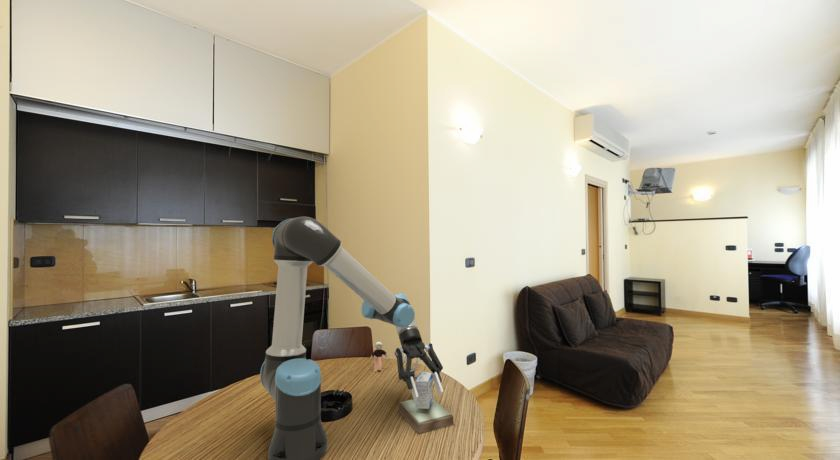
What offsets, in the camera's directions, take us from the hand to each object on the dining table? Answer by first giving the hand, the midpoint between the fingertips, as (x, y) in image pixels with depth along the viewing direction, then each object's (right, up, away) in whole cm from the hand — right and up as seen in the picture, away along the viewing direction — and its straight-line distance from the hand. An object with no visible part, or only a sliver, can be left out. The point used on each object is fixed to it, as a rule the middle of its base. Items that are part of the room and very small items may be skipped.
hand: (428, 396), depth 110 cm
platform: (-1, -8, +3) cm, 9 cm away
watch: (-7, -10, +35) cm, 37 cm away
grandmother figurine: (-21, -10, +45) cm, 51 cm away
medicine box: (-1, -4, +3) cm, 5 cm away
